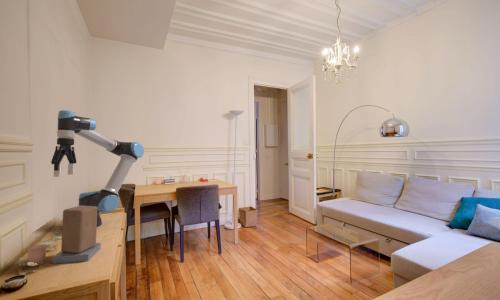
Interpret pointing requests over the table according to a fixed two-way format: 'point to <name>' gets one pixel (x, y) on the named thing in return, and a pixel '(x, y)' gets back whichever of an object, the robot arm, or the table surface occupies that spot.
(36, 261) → the reddish brown block
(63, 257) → the slate plinth
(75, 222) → the wooden block
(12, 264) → the table surface
